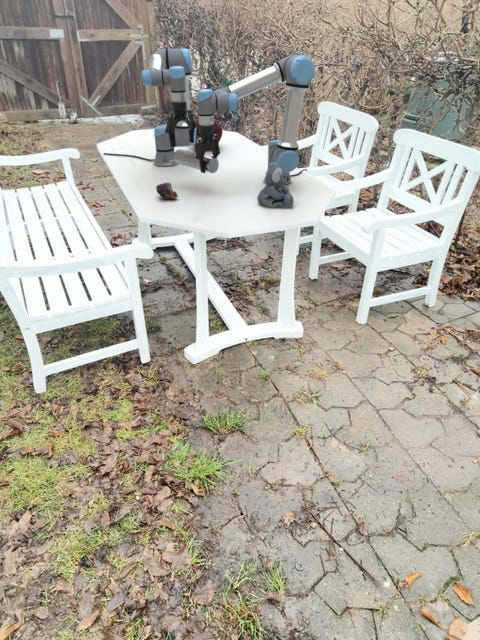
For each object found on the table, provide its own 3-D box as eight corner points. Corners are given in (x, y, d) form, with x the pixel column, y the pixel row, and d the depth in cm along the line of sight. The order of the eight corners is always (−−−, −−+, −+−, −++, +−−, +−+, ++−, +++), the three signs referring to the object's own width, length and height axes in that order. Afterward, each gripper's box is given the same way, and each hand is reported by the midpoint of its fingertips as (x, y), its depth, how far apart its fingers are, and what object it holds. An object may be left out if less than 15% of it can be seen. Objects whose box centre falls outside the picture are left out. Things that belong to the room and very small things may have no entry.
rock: (172, 196, 246) (154, 198, 242) (170, 179, 242) (152, 182, 238) (179, 199, 236) (161, 201, 232) (177, 182, 233) (159, 184, 229)
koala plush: (294, 208, 225) (297, 169, 214) (259, 209, 224) (259, 170, 213) (288, 196, 240) (290, 159, 229) (255, 198, 239) (255, 160, 227)
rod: (174, 165, 248) (173, 150, 243) (184, 162, 252) (183, 147, 248) (208, 174, 232) (207, 159, 228) (219, 171, 237) (218, 156, 233)
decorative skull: (188, 123, 330) (185, 120, 306) (219, 116, 329) (218, 112, 306) (194, 153, 337) (192, 152, 313) (225, 146, 336) (225, 145, 313)
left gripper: (164, 105, 220) (169, 150, 232) (201, 99, 235) (204, 141, 247) (155, 103, 224) (159, 147, 236) (192, 97, 239) (194, 139, 251)
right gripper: (196, 128, 215) (199, 176, 228) (226, 122, 228) (227, 167, 241) (186, 126, 219) (189, 173, 232) (215, 120, 232) (217, 165, 245)
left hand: (182, 144), depth 242 cm, fingers open, 13 cm apart
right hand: (208, 170), depth 236 cm, fingers closed on rod, 8 cm apart
